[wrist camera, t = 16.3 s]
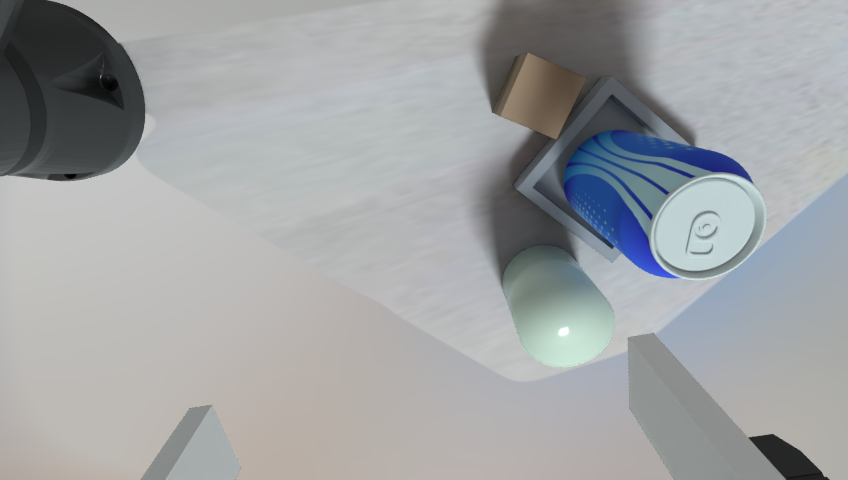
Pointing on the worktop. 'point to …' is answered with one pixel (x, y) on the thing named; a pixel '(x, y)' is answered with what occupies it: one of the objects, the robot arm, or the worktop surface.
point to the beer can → (666, 203)
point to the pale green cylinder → (556, 307)
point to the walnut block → (538, 94)
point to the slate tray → (593, 115)
